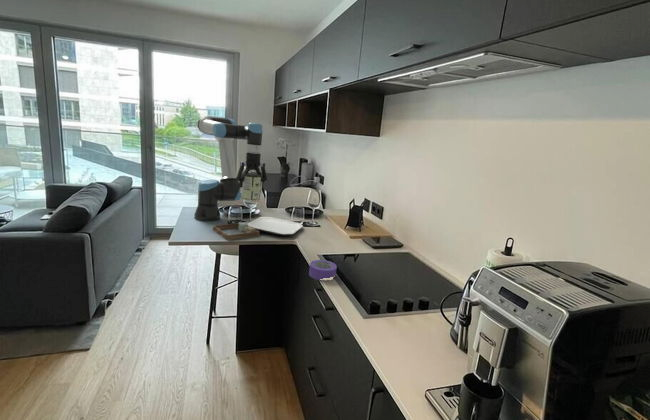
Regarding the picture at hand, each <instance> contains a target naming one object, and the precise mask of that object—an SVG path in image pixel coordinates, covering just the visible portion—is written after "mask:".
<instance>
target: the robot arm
mask: <svg viewBox="0 0 650 420" xmlns="http://www.w3.org/2000/svg"><path fill="white" fill-rule="evenodd" d="M196 124H197V129H198V130H199V131H200V133H202V134H203V135H209V136H213V137H214V138H215V140H216V141H218V149H219V161H220V169H221V170H220V171H221V178H220V179H219V180H218V179H204V180H201V181H200V182H199V183H198V188H197V190H198V192H197V193H198V194H197V207H196V209H195V212H194V217H193V218H194V219H196V220H198V221H203V222H214V221H218V220H220V219H221V213H220V208H219V202H234V201H240V200H242V199H241V197H242V194H244V182H243V180H244V179H245V175H243V174H248V172H251V171H256V172H255V173H257V174H259V175H260V174H262V176H261V190H260V194H262V192H263V190H262V189H263V187H264V182H266V181H267V180H268V177H267V173H266V172H267V171H266V163H265V162H261V157H262V156H261V152H262V141H263V140H262V139H263V133H264V132H263V124H262V123H257V122H256V123H255V122H249V123H248V125H242V124H236V121H235V120H234V119H233V118H229V117H221V116H212V115H207V116H203V117H200V118H199V119H198V120H197V123H196ZM235 139H236V140H242V141H243V140H245V141H246V151H247V152H246V156H245V159H246V160H245V162H244V161H243V162H242V161H241V162H240V163H239V165H240V166H239V168H238V172H237V171H236V165H235V164H236V163H235V155H234V153H235V152H234V144H233V141H234V140H235ZM245 166H246V167H245ZM236 173H237V174H236Z"/></svg>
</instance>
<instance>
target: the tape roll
mask: <svg viewBox="0 0 650 420" xmlns="http://www.w3.org/2000/svg"><path fill="white" fill-rule="evenodd" d="M337 267H338V266H337V264H336V263H334V262H332V261H330V260H326V259H315V260H313V261H311V262H310V263H309V271H308V275H309V277H310V278H312V279H314V280H316V281H320V279H323V278H330V277H333V276H334V275H335V274H336V275H337Z"/></svg>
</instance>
